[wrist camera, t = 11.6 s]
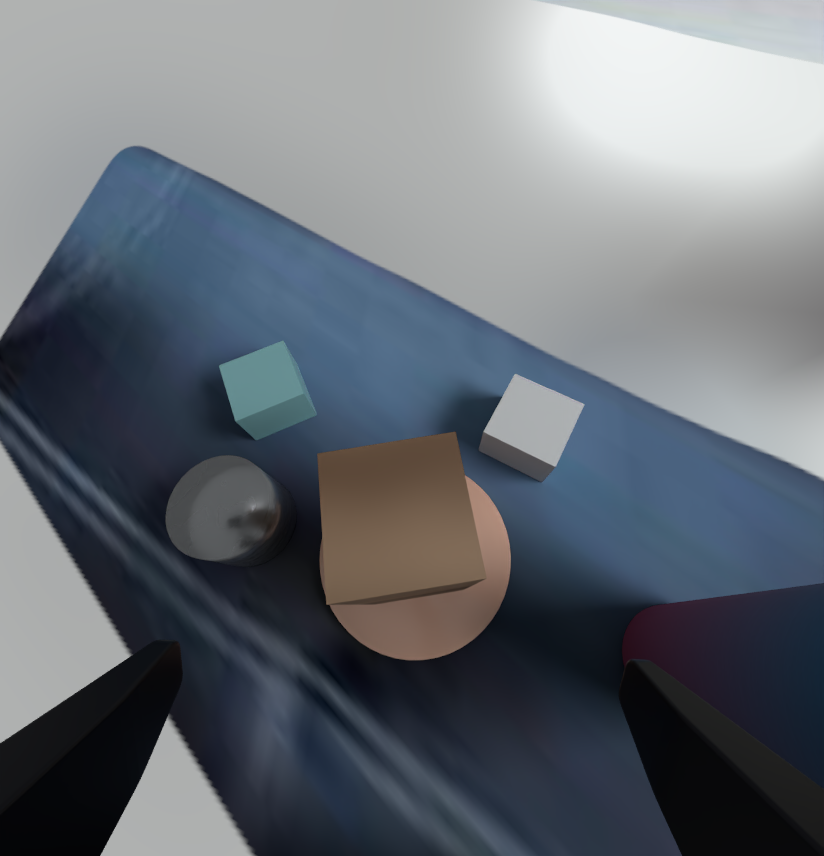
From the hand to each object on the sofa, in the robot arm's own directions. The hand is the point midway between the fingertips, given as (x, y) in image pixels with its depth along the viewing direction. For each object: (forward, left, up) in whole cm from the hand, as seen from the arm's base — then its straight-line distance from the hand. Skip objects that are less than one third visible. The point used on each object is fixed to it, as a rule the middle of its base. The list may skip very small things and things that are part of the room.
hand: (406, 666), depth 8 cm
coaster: (+4, 0, -13) cm, 14 cm away
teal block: (+14, +8, -14) cm, 21 cm away
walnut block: (+4, 0, -13) cm, 13 cm away
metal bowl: (+6, +9, -13) cm, 17 cm away
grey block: (+10, -7, -14) cm, 18 cm away
